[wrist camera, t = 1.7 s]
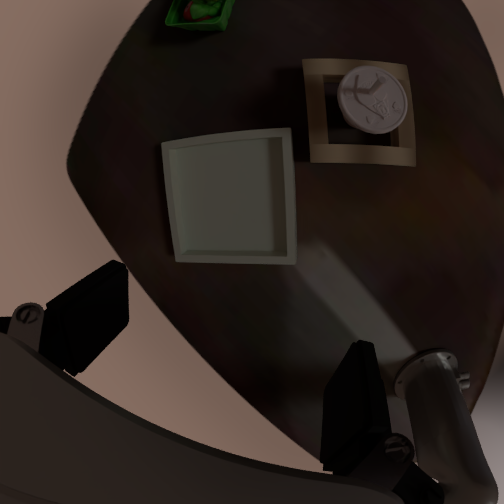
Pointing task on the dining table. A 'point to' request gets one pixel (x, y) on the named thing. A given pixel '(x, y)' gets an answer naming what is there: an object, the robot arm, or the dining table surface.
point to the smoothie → (372, 100)
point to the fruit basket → (199, 14)
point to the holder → (346, 153)
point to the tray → (232, 197)
